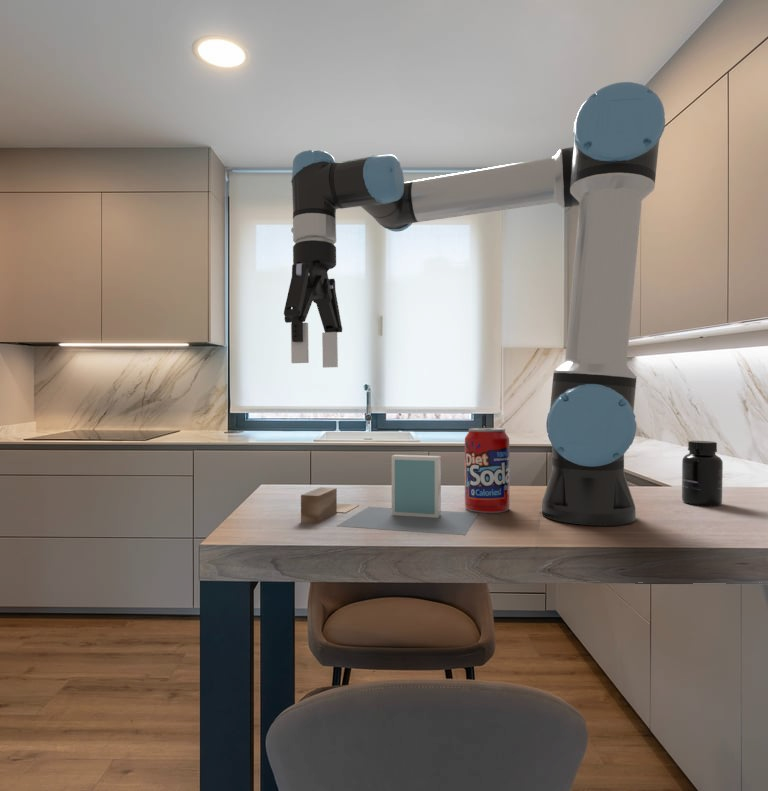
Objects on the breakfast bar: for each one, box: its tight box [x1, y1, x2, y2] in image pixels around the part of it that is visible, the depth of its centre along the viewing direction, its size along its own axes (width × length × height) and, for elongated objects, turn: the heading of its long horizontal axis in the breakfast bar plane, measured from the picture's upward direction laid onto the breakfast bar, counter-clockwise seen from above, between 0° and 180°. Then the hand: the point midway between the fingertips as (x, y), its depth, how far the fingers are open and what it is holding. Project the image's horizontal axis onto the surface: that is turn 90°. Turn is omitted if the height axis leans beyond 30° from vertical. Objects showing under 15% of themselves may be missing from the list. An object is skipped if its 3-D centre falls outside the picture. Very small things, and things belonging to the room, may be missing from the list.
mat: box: [336, 506, 480, 536], centre depth 92 cm, size 20×16×1 cm
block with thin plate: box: [300, 487, 360, 524], centre depth 97 cm, size 6×16×5 cm, turn 163°
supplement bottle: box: [681, 440, 724, 507], centre depth 109 cm, size 7×7×12 cm
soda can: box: [464, 427, 510, 514], centre depth 100 cm, size 8×8×15 cm
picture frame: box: [391, 454, 442, 518], centre depth 95 cm, size 8×2×10 cm, turn 74°
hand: (316, 365), depth 98 cm, fingers open, 13 cm apart
